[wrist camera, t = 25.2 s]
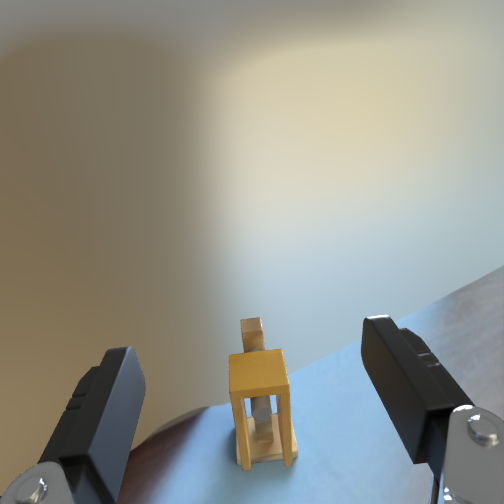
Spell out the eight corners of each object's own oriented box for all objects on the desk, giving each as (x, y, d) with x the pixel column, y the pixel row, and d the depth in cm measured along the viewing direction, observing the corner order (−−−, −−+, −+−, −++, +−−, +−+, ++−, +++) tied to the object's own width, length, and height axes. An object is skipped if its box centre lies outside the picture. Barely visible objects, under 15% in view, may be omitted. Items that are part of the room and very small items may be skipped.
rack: (239, 517, 32) (212, 395, 24) (236, 424, 41) (215, 313, 32) (308, 508, 32) (304, 383, 24) (290, 417, 41) (283, 304, 33)
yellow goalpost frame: (242, 471, 30) (229, 391, 25) (240, 431, 33) (228, 354, 28) (293, 465, 30) (289, 384, 25) (285, 425, 34) (281, 348, 29)
